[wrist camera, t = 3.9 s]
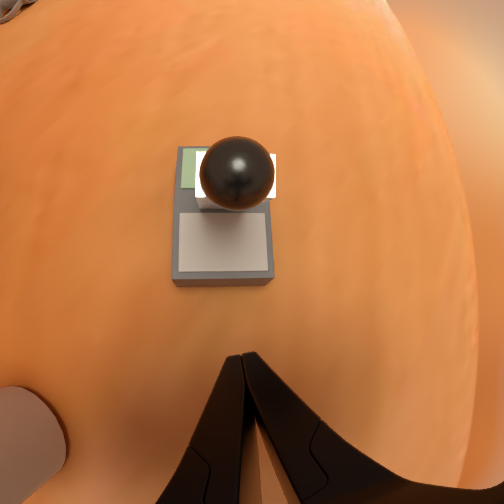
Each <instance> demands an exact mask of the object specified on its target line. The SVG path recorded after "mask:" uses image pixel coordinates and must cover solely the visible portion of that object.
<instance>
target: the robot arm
mask: <svg viewBox="0 0 504 504" xmlns="http://www.w3.org/2000/svg"><path fill="white" fill-rule="evenodd" d="M255 419H256V421H255ZM256 422H257V425H258V428H259V431H260V434H261V436H262V439H263V442H264V444H265V447H266V450H267V452H268V455H269V457H270V460H271V462H272V465H273V467H274V470H275V472H276V475H277V477H278V480H279V482H280V485H281V487H282V490H283V492H284V494H285V497H286V499H287V502H288V504H504V481H503V482H502V483H500V484H499V485H497V486H494V487H492V488H487V489H482V490H473V489H461V488H452V487H444V486H437V485H430V484H424V483H418V482H414V481H410V480H407V479H405V478H403V477H400V476H398V475H397V474H395V473H393V472H391V471H390V470H388V469H387V468H385V467H383V466H382V465H380V464H379V463H377V462H376V461H374V460H373V459H371V458H370V457H368V456H367V455H365V454H364V453H362V452H361V451H359V450H358V449H356V448H355V447H354V446H352V445H351V444H349V443H348V442H347V441H345V440H344V439H343V438H342V437H341V436H339V435H338V434H337V433H336V432H335V431H334V430H333V429H332V428H330V427H329V426H328V425H327V424H326V423H325V422H324V421H323V420H321V418H320V417H319V416H318V415H317V414H316V413H315V412H314V411H313V410H312V409H311V408H310V407H309V406H308V405H307V404H306V403H305V402H304V401H303V400H302V399H301V398H300V397H299V396H298V395H297V394H296V393H295V392H294V391H293V390H292V389H291V388H290V387H289V386H288V385H287V384H286V383H285V382H284V381H283V380H282V379H281V378H280V377H279V376H278V375H277V374H276V373H275V372H274V371H273V370H272V369H271V367H270V366H269V365H268V364H267V363H266V362H265V361H264V360H263V359H262V358H261V357H260V356H259V355H258V354H257V353H256V352H254V351H253V352H248V353H243V354H242V357H241V355H239V354H238V355H233V356H228V357H227V358H226V360H225V362H224V364H223V367H222V369H221V371H220V374H219V376H218V378H217V380H216V383H215V385H214V387H213V390H212V392H211V394H210V397H209V399H208V401H207V403H206V406H205V408H204V410H203V413H202V415H201V417H200V419H199V422H198V424H197V426H196V429H195V431H194V433H193V435H192V438H191V440H190V442H189V446H187V448H186V451H185V453H184V455H183V457H182V459H181V461H180V463H179V465H178V467H177V469H176V471H175V473H174V475H173V476H172V478H171V480H170V481H169V483H168V485H167V486H166V488H165V490H164V491H163V493H162V494H161V496H160V497H159V499H158V500H157V502H156V503H155V504H262V497H261V484H260V471H259V457H258V443H257V429H256Z"/></svg>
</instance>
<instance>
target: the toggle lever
mask: <svg viewBox="0 0 504 504" xmlns="http://www.w3.org/2000/svg"><path fill="white" fill-rule="evenodd" d="M274 198H276V154H269V153H268V151H267V150H266V149H265V148H264V147H263V146H262V145H261V144H259V143H258V142H256V141H254V140H253V139H250V138H247V137H241V136H233V137H228V138H224V139H222V140H220V141H218V142H216V143H215V144H213V145H212V146H211V147H210V148H209V149H208V150H207V151H206V152H197V157H196V200H197V203H198V206H199V209H225V210H230V211H244V210H248V209H251V208H253V207H255V206H257V205H258V204H260V203H263V202H266V201H269V200H271V199H274Z"/></svg>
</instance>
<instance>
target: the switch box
mask: <svg viewBox="0 0 504 504" xmlns="http://www.w3.org/2000/svg"><path fill="white" fill-rule="evenodd" d="M209 148H210V147H207V146H190V147H178V152H177V165H176V179H175V196H174V217H173V249H172V280H173V281H174V283H175V285H176V286H177V287H219V286H265V285H266V284H268V283H269V282H270V281H271V280H272V279H273V278H274V262H273V247H272V232H271V217H270V203H269V201H266V202H263V203H260V204H258V205H257V206H255V207H253V208H251V209H248V210H244V211H230V210H225V209H199V206H198V203H197V200H196V157H197V152H206V151H207V150H208V149H209Z"/></svg>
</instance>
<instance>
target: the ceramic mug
mask: <svg viewBox="0 0 504 504" xmlns="http://www.w3.org/2000/svg"><path fill="white" fill-rule="evenodd" d="M35 1H37V0H0V17H1V14H2V12H3V10H9V9H12V10H11V11H10V12H9V13H8V14H7V15H6V16H5V17H3V18H0V23H5V22H7V21H9V20H10V19H11V18H13V17H14V16H15V15H16V13H17V12H18V11H19V9H20V8H21V7H22V6H23V5H26V4H30V3H33V2H35Z"/></svg>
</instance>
